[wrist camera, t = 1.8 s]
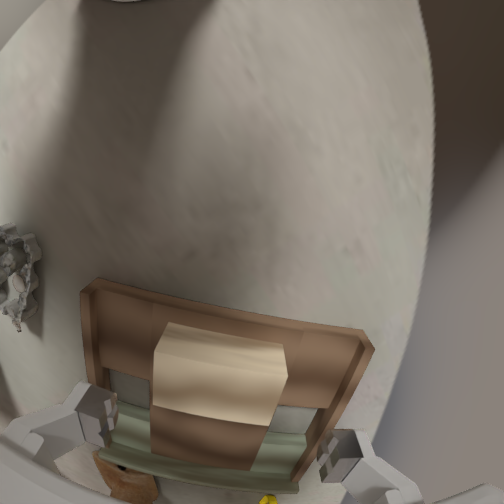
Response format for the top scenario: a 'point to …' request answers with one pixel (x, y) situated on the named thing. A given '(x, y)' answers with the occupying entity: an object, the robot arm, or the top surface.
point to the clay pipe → (127, 482)
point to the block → (218, 375)
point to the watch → (268, 500)
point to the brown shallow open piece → (210, 429)
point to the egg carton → (11, 261)
